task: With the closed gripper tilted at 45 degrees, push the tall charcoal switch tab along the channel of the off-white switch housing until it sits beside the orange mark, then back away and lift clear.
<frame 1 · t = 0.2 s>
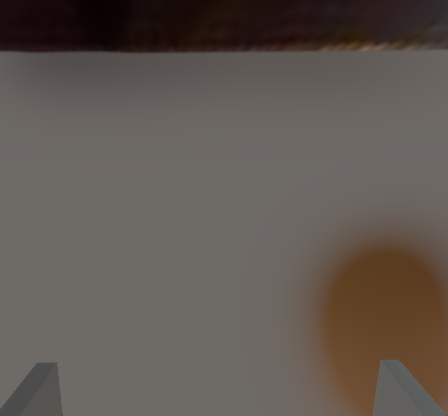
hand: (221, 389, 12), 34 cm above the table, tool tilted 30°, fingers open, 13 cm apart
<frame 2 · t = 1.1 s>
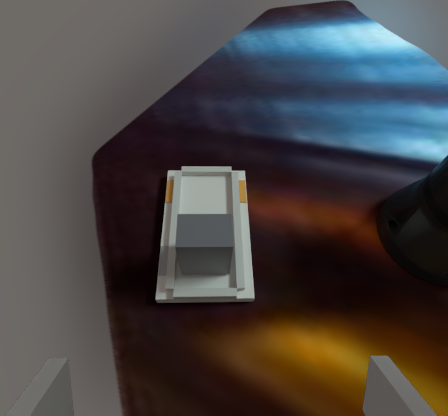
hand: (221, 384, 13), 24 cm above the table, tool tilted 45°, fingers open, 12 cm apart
switch tab: (205, 246, 36), point 6 cm above the table, slide at 0.0 cm
switch housing: (206, 231, 43), on the table
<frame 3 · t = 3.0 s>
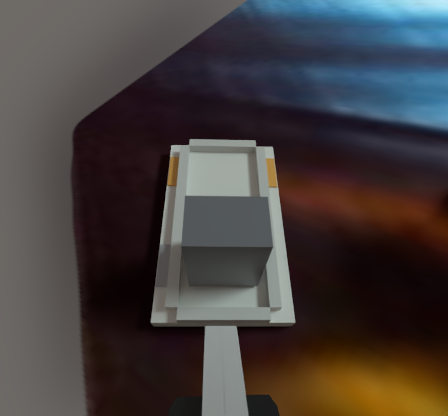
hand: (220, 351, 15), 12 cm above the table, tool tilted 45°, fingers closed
switch tab: (224, 245, 24), point 6 cm above the table, slide at 0.0 cm
switch housing: (222, 225, 32), on the table
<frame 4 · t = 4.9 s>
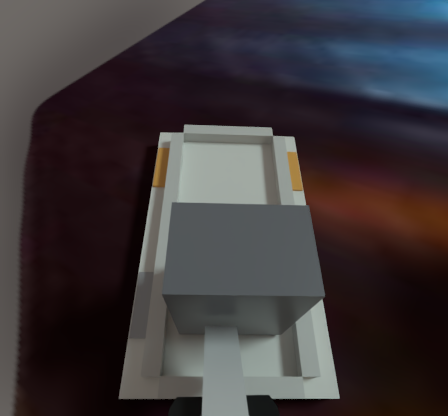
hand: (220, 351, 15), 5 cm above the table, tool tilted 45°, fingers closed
switch tab: (234, 279, 15), point 6 cm above the table, slide at 0.2 cm, touching gripper
switch housing: (227, 243, 23), on the table
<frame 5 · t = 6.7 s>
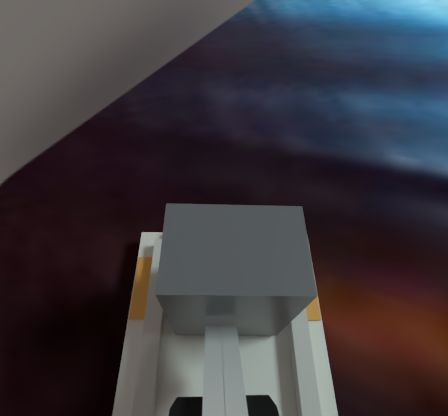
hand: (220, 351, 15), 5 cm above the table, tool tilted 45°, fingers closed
switch tab: (229, 279, 16), point 6 cm above the table, slide at 10.1 cm
switch housing: (225, 396, 18), on the table
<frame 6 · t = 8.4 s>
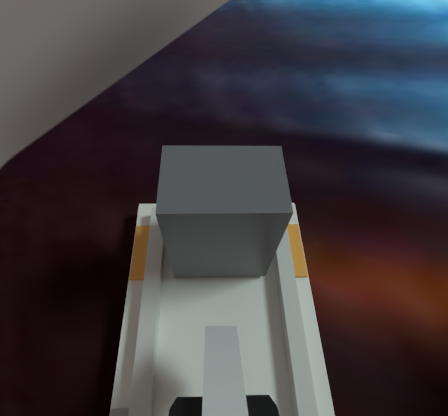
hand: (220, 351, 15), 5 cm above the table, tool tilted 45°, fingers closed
switch tab: (221, 219, 18), point 6 cm above the table, slide at 11.0 cm
switch housing: (220, 347, 19), on the table
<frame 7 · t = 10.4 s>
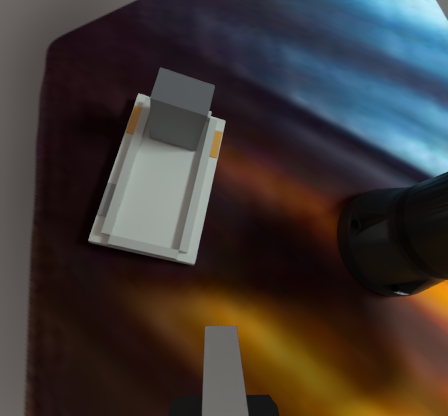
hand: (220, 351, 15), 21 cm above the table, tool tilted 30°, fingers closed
switch tab: (179, 113, 35), point 6 cm above the table, slide at 11.0 cm
switch housing: (164, 178, 39), on the table
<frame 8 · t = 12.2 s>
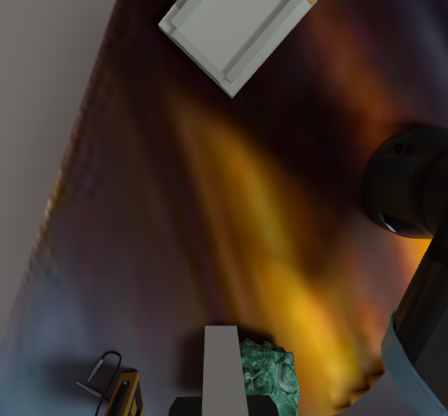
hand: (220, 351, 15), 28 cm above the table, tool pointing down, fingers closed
mineral: (255, 378, 49), on the table
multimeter: (111, 390, 48), on the table
switch housing: (251, 0, 37), on the table
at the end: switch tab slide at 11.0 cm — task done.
